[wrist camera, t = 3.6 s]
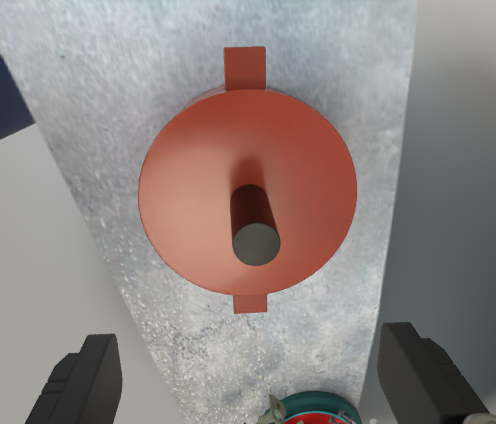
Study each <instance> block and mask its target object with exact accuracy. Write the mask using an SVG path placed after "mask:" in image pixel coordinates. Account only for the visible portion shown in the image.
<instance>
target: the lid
mask: <svg viewBox="0 0 496 424" xmlns="http://www.w3.org/2000/svg"><path fill="white" fill-rule="evenodd" d="M356 200H357V181H356V173H355V168H354V165H353V161H352V158H351V155H350V153H349V151H348V149H347V146H346V144H345V143H344V141H343V139H342V138H341V136H340V135H339V133H338V132H337V131H336V129H335V128H334V127H333V126H332V125H331V123H330V122H329V121H328V120H327V119H325V118H324V117H323V116H322V115H321V114H320V113H319V112H317V111H316V110H315V109H313V108H312V107H310V106H309V105H307V104H306V103H304V102H302V101H300V100H298V99H296V98H293V97H291V96H288V95H285V94H282V93H279V92H275V91H270V90H264V89H247V88H246V89H236V90H228V91H224V92H220V93H216V94H213V95H210V96H208V97H205V98H203V99H200V100H199V101H197V102H195V103H193V104H191V105H189V106H188V107H186V108H185V109H184V110H182V111H181V112H180V113H178V114H177V115H176V116H175V117H173V118H172V119H171V120H170V121H169V122H168V123H167V124H166V125H165V126H164V128H163V129H162V130H161V132H160V133H159V134H158V136H157V137H156V138H155V140H154V142H153V143H152V145H151V147H150V149H149V150H148V152H147V155H146V157H145V160H144V163H143V165H142V169H141V173H140V178H139V187H138V204H139V211H140V216H141V221H142V224H143V227H144V229H145V232H146V234H147V236H148V238H149V240H150V242H151V244H152V246H153V247H154V249H155V250H156V252H157V253H158V255H159V256H160V257H161V258H162V259H163V260H164V261H165V263H166V264H167V265H168V266H169V267H171V268H172V269H173V270H174V271H175V272H176V273H177V274H179V275H180V276H182V277H183V278H185V279H186V280H188V281H190V282H192V283H194V284H196V285H198V286H200V287H202V288H205V289H208V290H210V291H213V292H218V293H222V294H227V295H236V296H254V295H264V294H268V293H273V292H277V291H280V290H283V289H286V288H289V287H291V286H293V285H295V284H297V283H299V282H301V281H303V280H305V279H306V278H308V277H309V276H311V275H313V274H314V273H315V272H316V271H318V270H319V269H320V268H321V267H322V266H323V265H324V264H325V263H326V262H327V261H328V260H329V259H330V258H331V257H332V256H333V255H334V253H335V252H336V251H337V250H338V248H339V247H340V245H341V244H342V242H343V240H344V238H345V237H346V235H347V233H348V230H349V228H350V226H351V223H352V220H353V216H354V212H355V207H356Z"/></svg>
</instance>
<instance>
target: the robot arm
mask: <svg viewBox="0 0 496 424" xmlns="http://www.w3.org/2000/svg"><path fill="white" fill-rule="evenodd" d="M377 371H378V378H379V382H380V385H381V387H382V390H383V392H384V394H385V396H386V398H387V400H388V402H389V405H390V407H391V409H392V411H393V413H394V416H395V418H396V420H397V422H398V424H496V415H492V414H490V412H489V411H488V410H487V408H486V407H485V405H484V404H483V403H482V401H481V400H480V399H479V397H478V396H477V394H476V393H475V392H474V390H473V389H472V387H471V386H470V385H469V383H468V382H467V381H466V379H465V378H464V376H461V372H460V371H459V370H458V368H457V367H456V365H454V364H453V361H452V360H451V358H450V357H449V356H448V354H447V353H446V352H445V350H444V349H443V348H442V347H440V346H439V345H437V344H436V343H435V342H433V341H432V340H431V339H429V338H420V336H419V335H418V333H417V332H416V330H415V329H414V327H413V326H412V324H411V323H409V322H394V323H384V324H383V325H382V329H381V336H380V345H379V354H378V362H377ZM121 392H122V371H121V364H120V357H119V351H118V344H117V338H116V335H115V334H94V335H88V336H87V338H86V339H85V342H84V344H83V346H82V348H81V350H80V352H79V353H69V354H68V355H67V356H65V357H64V358H63V359H62V360H61V361H60V362H59V363H58V364H57V365H56V366H55V367H54V369H53V371H52V373H51V375H50V377H49V379H48V383H46V384H45V386H44V388H43V390H42V393H41V395H40V396H39V398H38V399H37V401H36V403H35V405H34V407H33V409H32V411H31V413H30V415H29V417H28V419H27V420H26V422H25V424H113V422H114V418H115V415H116V411H117V408H118V404H119V401H120V398H121Z"/></svg>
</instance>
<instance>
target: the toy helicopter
mask: <svg viewBox="0 0 496 424" xmlns="http://www.w3.org/2000/svg"><path fill="white" fill-rule="evenodd" d="M269 400H270V408H269V409H268V410H267V411H266V413H265V414H264V415H262V416H260V417H259V418H258V422H257V423H256V424H362V422H361V419H360V417H359V415H358V412H357V411H356V409H355V408H354V407H353V406H352V405H351V404H350V403H349V402H348V401H346V400H344V399H343V398H341V397H339V396H336V395H333V394H330V393H325V392H303V393H298V394H294V395H291V396H289V397H286V398H284V399H282V400H278V399H277V398H276V397H274V396H273V395H269ZM244 424H246V423H244ZM369 424H377V419H370V423H369Z"/></svg>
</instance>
